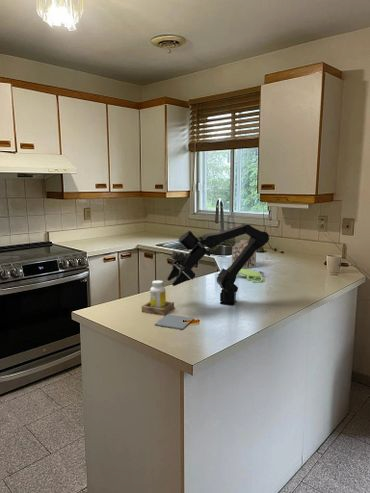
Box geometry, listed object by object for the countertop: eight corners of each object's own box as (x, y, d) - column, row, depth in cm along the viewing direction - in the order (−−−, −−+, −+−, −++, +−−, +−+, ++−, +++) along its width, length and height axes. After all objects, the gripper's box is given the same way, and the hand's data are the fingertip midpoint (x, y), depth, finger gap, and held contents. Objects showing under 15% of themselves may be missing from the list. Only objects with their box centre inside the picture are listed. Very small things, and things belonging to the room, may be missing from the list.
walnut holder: (174, 307, 168) (174, 302, 168) (163, 315, 159) (163, 309, 158) (153, 304, 172) (152, 299, 172) (141, 312, 163) (141, 306, 162)
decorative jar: (231, 265, 252) (231, 239, 249) (245, 264, 257) (246, 238, 254) (241, 269, 241) (241, 241, 238) (256, 267, 246) (257, 240, 243)
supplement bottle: (165, 307, 169) (165, 279, 167) (165, 312, 162) (165, 283, 160) (151, 307, 169) (150, 279, 166) (150, 312, 162) (149, 283, 160)
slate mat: (194, 319, 154) (194, 318, 154) (182, 329, 143) (182, 328, 143) (167, 315, 158) (167, 314, 158) (154, 325, 147) (154, 324, 147)
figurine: (230, 271, 237) (230, 263, 236) (271, 277, 223) (271, 268, 222) (216, 278, 222) (217, 268, 221) (259, 284, 208) (259, 274, 207)
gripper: (176, 241, 173) (153, 266, 171) (188, 248, 155) (162, 276, 154) (192, 257, 176) (169, 281, 175) (205, 265, 158) (180, 293, 157)
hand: (170, 282), depth 165 cm, fingers open, 9 cm apart
